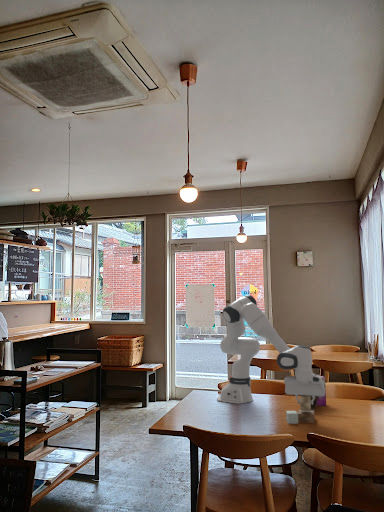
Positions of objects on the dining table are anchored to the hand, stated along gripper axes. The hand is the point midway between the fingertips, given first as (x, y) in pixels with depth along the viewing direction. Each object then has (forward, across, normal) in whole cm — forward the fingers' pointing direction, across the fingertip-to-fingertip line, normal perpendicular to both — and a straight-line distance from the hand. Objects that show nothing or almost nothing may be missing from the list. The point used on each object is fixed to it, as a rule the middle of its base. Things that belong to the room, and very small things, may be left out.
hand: (305, 403), depth 200 cm
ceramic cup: (+8, +1, +21) cm, 23 cm away
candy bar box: (+8, +5, +32) cm, 34 cm away
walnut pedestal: (+8, 0, 0) cm, 8 cm away
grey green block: (+8, -7, -5) cm, 12 cm away
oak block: (+3, 0, 0) cm, 3 cm away
